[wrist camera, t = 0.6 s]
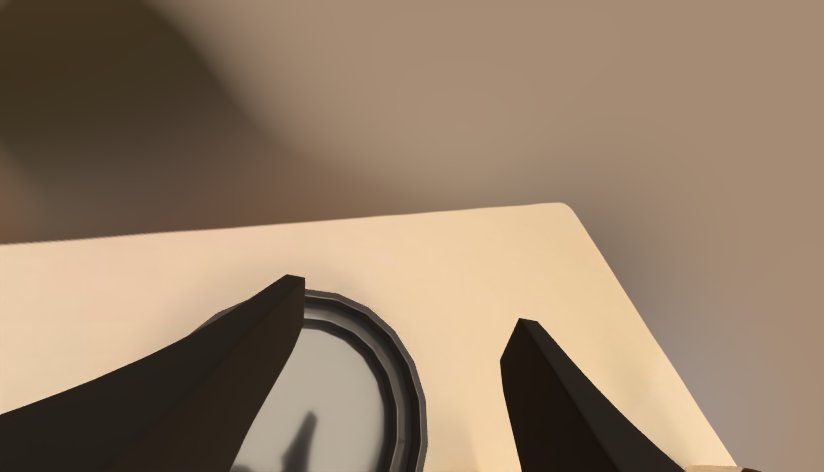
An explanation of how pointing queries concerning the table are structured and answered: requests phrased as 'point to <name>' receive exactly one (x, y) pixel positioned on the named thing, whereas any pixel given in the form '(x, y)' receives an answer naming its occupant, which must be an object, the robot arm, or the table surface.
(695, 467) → the spread jar
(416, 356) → the table surface
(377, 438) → the bowl
